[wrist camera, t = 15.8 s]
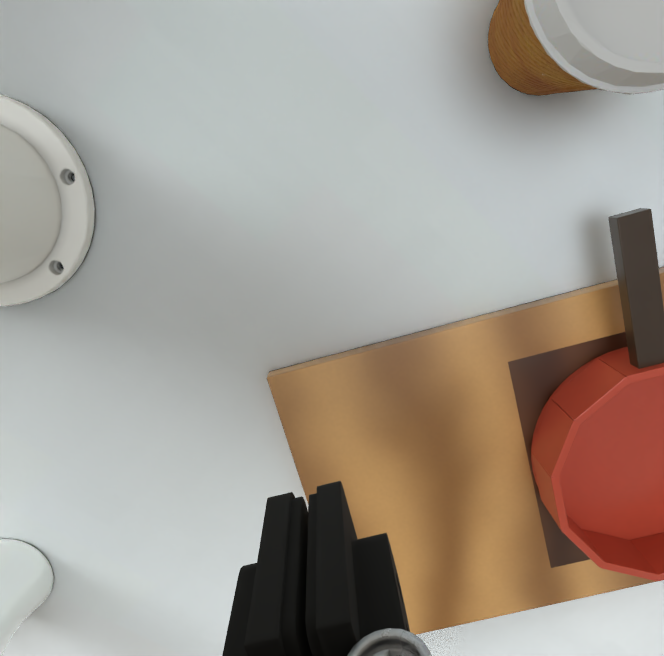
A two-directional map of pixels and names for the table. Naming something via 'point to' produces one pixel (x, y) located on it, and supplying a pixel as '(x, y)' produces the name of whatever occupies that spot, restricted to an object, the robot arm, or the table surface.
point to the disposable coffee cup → (579, 45)
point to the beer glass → (20, 585)
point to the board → (455, 452)
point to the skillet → (613, 426)
